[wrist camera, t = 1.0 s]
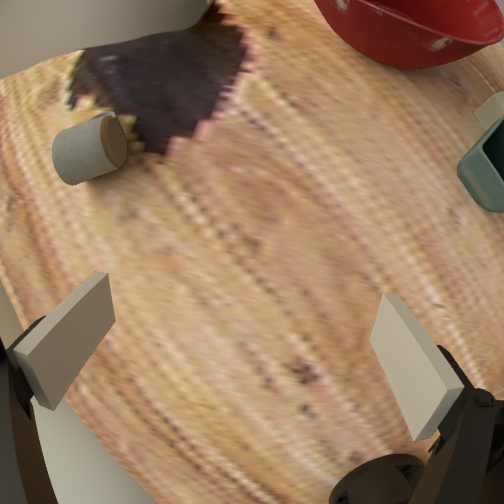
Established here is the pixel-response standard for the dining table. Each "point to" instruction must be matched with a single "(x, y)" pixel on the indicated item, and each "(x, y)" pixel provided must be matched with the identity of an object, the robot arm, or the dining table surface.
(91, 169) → the ceramic mug
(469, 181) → the flower pot
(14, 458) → the robot arm
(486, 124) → the stone block
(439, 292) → the dining table surface
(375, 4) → the mixing bowl
